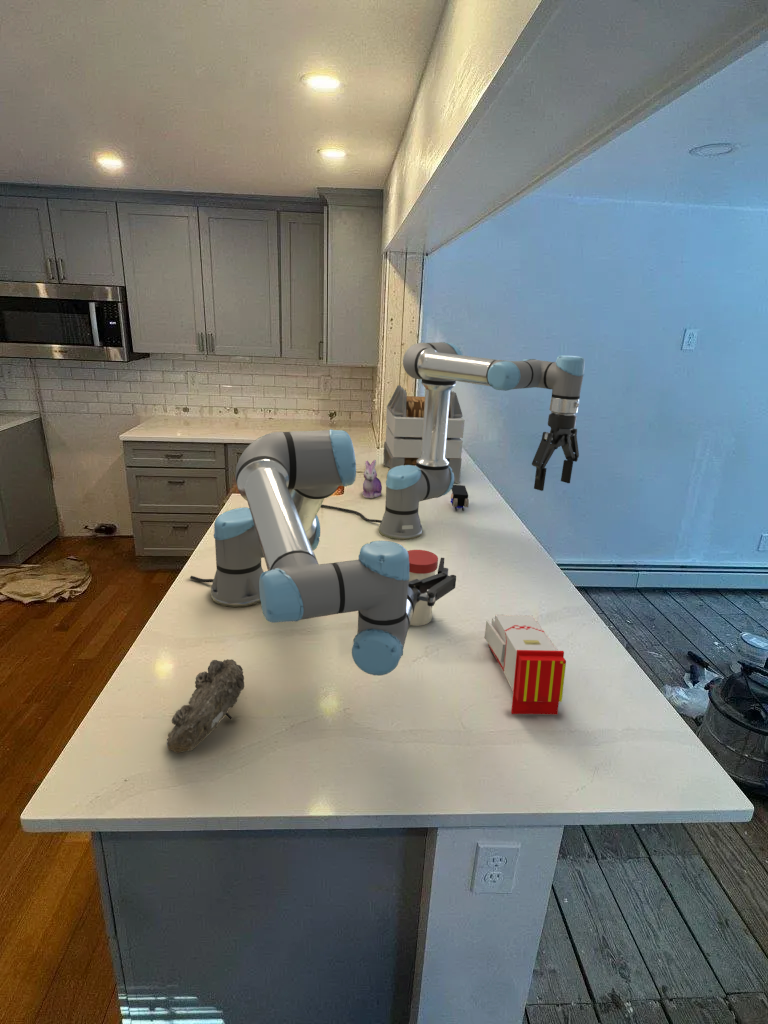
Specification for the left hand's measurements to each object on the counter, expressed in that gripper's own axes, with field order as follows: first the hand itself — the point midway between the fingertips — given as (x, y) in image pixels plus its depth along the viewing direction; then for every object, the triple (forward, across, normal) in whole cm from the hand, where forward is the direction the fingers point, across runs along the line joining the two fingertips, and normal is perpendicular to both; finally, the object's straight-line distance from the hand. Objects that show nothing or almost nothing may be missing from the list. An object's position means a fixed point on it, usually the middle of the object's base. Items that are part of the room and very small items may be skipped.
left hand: (409, 559), depth 118 cm
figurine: (+116, -32, -25) cm, 123 cm away
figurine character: (+112, +5, -25) cm, 115 cm away
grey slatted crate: (+157, -17, -25) cm, 160 cm away
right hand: (+58, +34, +2) cm, 67 cm away
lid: (+21, 0, -9) cm, 23 cm away
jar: (+21, 0, -26) cm, 33 cm away
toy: (+3, +25, -26) cm, 36 cm away
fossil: (-26, -33, -26) cm, 49 cm away
